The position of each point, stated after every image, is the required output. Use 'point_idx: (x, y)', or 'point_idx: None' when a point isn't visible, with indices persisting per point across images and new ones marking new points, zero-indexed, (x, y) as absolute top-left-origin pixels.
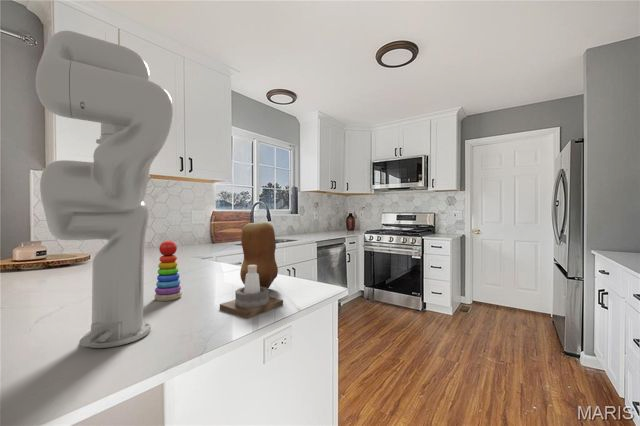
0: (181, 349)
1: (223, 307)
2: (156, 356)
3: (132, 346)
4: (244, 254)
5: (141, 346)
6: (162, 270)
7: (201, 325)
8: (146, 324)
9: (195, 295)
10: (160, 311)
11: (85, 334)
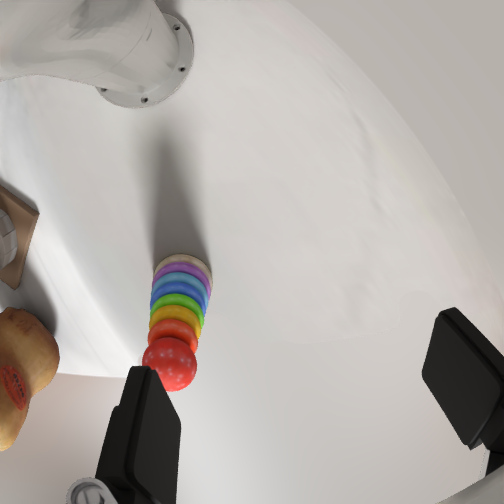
0: None
1: (27, 209)
2: None
3: None
4: (13, 367)
5: None
6: (176, 300)
7: (32, 129)
8: (106, 91)
9: (135, 300)
10: (141, 188)
11: (188, 35)
